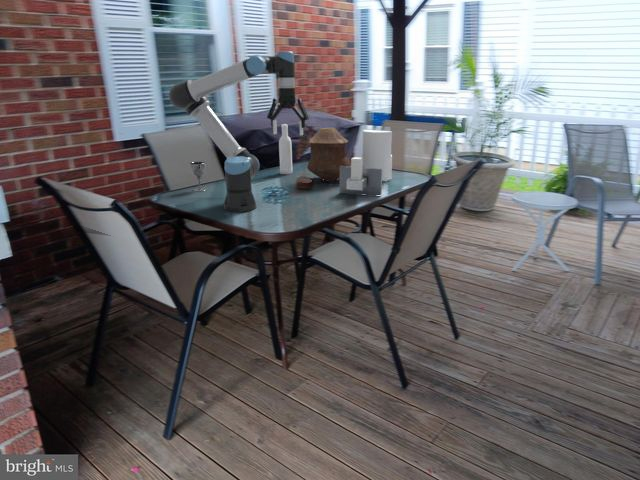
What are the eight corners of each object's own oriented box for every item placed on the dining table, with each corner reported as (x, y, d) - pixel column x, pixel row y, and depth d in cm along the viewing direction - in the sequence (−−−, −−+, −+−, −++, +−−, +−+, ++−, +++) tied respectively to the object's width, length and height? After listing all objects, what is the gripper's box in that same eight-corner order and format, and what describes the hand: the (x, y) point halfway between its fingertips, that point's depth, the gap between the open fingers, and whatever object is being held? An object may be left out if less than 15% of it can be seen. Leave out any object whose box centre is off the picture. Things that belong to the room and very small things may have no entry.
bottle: (277, 173, 304) (275, 124, 294) (286, 171, 309) (284, 123, 299) (286, 175, 298) (284, 125, 288) (295, 173, 304) (293, 124, 294)
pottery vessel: (336, 186, 268) (336, 131, 257) (298, 181, 281) (297, 129, 271) (358, 177, 288) (359, 126, 278) (322, 173, 301) (321, 124, 291)
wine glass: (210, 189, 264) (207, 162, 259) (198, 192, 259) (195, 164, 254) (202, 187, 270) (199, 160, 264) (189, 190, 264) (186, 163, 259)
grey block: (375, 201, 237) (376, 173, 233) (333, 197, 245) (333, 170, 240) (381, 195, 248) (382, 168, 243) (340, 192, 255) (340, 166, 250)
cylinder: (384, 183, 274) (385, 133, 265) (356, 180, 283) (357, 131, 273) (396, 177, 288) (398, 129, 279) (370, 174, 297) (371, 128, 287)
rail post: (359, 187, 240) (360, 159, 235) (350, 186, 241) (351, 158, 237) (362, 185, 244) (362, 157, 239) (353, 184, 245) (353, 157, 240)
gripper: (315, 87, 220) (315, 134, 227) (265, 87, 228) (267, 132, 236) (309, 87, 214) (309, 136, 221) (258, 87, 222) (260, 134, 229)
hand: (288, 134), depth 228 cm, fingers open, 13 cm apart
